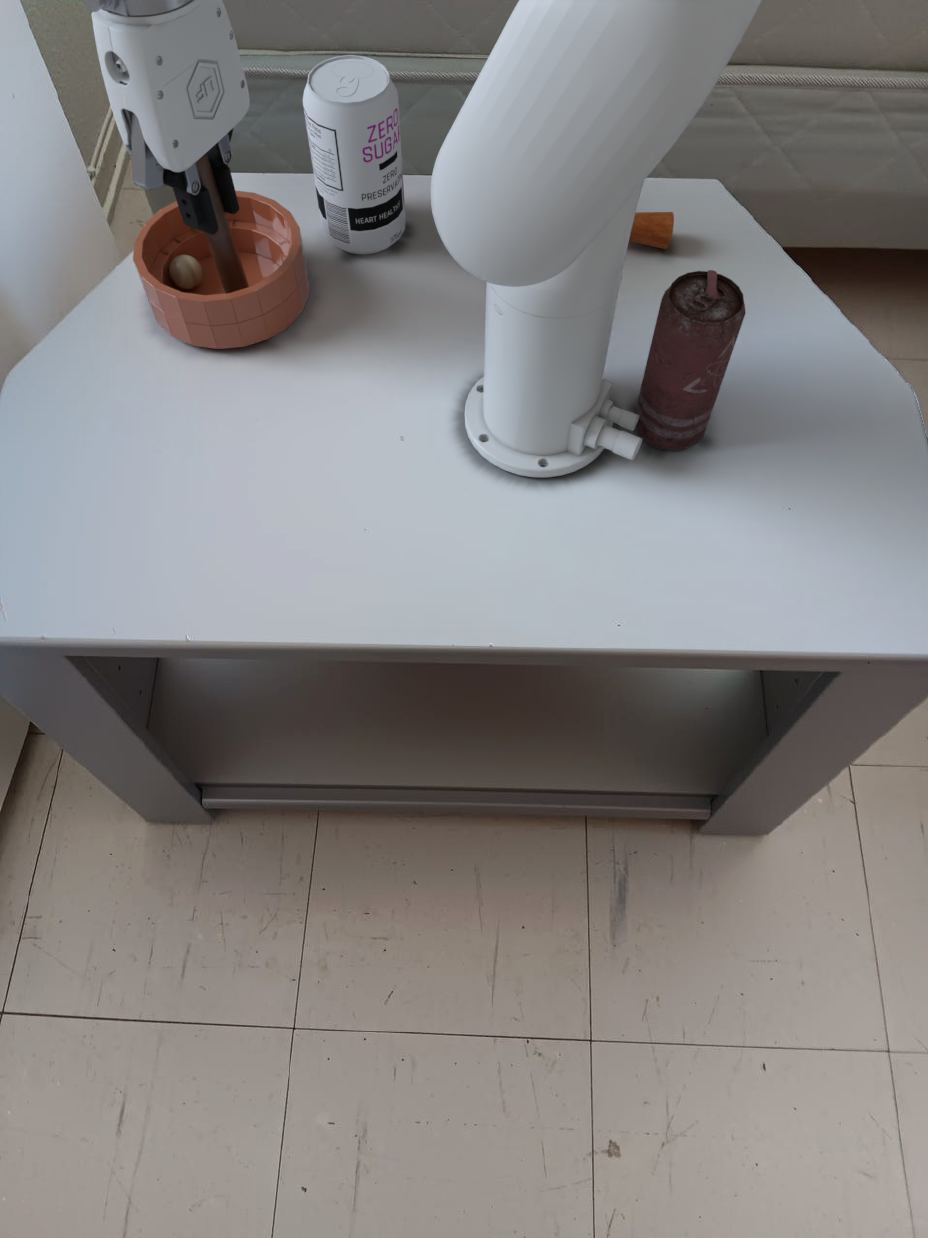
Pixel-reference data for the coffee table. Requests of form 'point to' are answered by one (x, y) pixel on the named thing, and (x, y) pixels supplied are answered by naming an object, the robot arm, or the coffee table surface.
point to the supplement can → (356, 152)
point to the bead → (185, 272)
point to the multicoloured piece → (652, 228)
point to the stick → (222, 235)
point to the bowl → (207, 309)
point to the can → (688, 358)
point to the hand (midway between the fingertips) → (211, 216)
